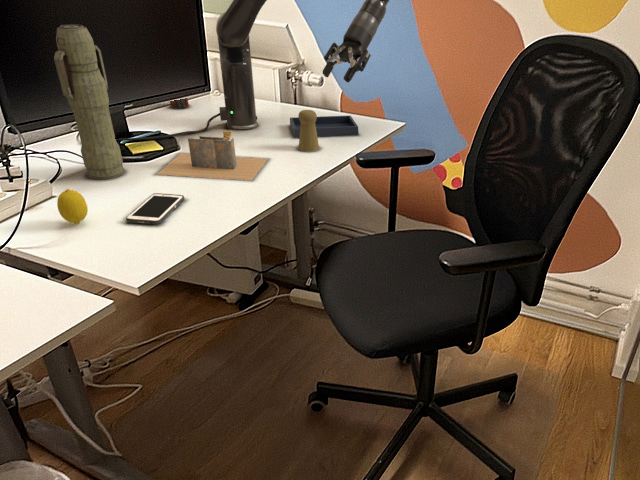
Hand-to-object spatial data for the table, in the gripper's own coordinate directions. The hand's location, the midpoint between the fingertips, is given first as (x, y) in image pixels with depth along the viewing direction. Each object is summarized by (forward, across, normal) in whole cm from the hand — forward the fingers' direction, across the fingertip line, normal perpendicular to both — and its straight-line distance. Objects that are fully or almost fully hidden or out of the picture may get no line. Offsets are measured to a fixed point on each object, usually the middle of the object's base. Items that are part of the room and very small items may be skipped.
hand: (335, 78), depth 176 cm
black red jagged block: (+22, -62, +3) cm, 66 cm away
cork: (+22, 0, +4) cm, 22 cm away
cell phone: (+60, +8, -35) cm, 70 cm away
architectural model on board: (+42, -7, -16) cm, 45 cm away
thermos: (+57, -22, -32) cm, 69 cm away
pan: (+10, -9, +15) cm, 20 cm away
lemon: (+71, +1, -45) cm, 84 cm away
